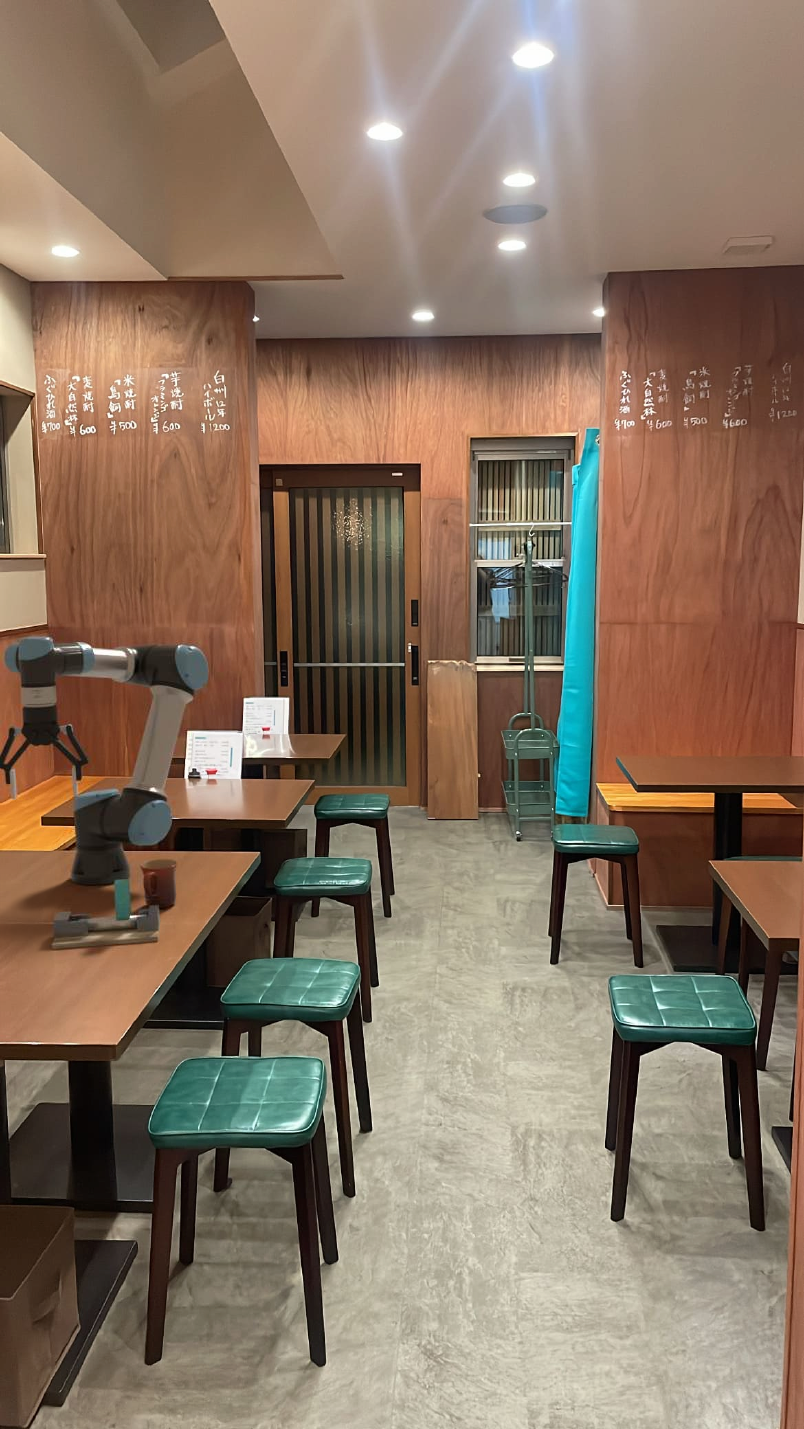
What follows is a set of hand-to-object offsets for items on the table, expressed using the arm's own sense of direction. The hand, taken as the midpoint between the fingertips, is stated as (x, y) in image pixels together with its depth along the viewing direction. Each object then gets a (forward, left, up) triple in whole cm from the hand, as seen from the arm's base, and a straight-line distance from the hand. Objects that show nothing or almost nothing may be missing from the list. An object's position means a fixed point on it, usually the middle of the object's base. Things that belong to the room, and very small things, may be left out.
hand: (45, 796), depth 246 cm
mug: (-2, +24, -29) cm, 38 cm away
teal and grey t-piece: (+16, +15, -28) cm, 35 cm away
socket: (+16, +23, -28) cm, 39 cm away
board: (+16, +14, -29) cm, 36 cm away
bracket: (+16, +6, -28) cm, 33 cm away
